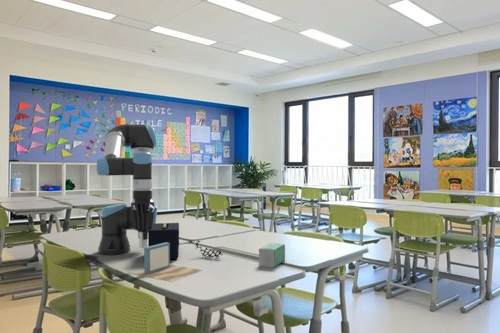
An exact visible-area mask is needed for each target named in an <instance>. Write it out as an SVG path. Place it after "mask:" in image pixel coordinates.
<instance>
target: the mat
mask: <svg viewBox="0 0 500 333" xmlns="http://www.w3.org/2000/svg"><path fill="white" fill-rule="evenodd" d="M202 271H204V270H203V269H199V268H193V267H187V266H182V265H181V266H180V265H175V264H174V265H173V264H170V267H169V268H166V269H163V270H159V271H156V272H153V273H150V274H145V273H144V270H142V271H140V272H136V273H133V275H134V276H140V277H145V278H150V279H155V280H161V281H166V282H171V283H174V282H176V281H179V280H181V279H183V278H186V277H188V276H191V275H192V276H193V275H195V274H197V273H201V272H202Z"/></svg>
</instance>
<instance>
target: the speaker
mask: <svg viewBox="0 0 500 333" xmlns="http://www.w3.org/2000/svg"><path fill="white" fill-rule="evenodd" d="M147 242H148V243H147V247H149V246H153V245H157V244H161V243H165V242H167V243H170V260H172V261H173V260H176V259H178V258H179V252H180V222H162V223H161V222H160V223H158V222H156V223H155V224H152V229H151V230H149V231H148V239H147Z"/></svg>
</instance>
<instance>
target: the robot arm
mask: <svg viewBox="0 0 500 333" xmlns="http://www.w3.org/2000/svg"><path fill="white" fill-rule="evenodd" d="M156 137H157V136H156V131H155V127H154V126H153V125H151V124H145V123H144V124H128V123H125V124H124V123H123V124H119V125H115V126H114V127H112V128H110V129H109V130H108V131H107V132H106V134H105V137H104V144H105V147H104V153H103V157H98V158H97V159H96V173H97V175H98V176H106V177H109V176H132V189H133V191H132V199H133V200H132V201H131V202H130V206H128V205H127V204H126V203H118V204H113V205H108V206H105V207H103V208H102V209H101V217H100V218H101V239H100V241H99V244H98V245H99V246H98V249H97V253H98V254H99V255H107V256H108V255H110V256H112V255H121V254H125V253H126V254H127V253H129V252H131V245H130V241H129V238H128V236H127V231H128V230H129V231H132V230H134V231H137V232H138V234H137V235H138V236H137V237H138V240H139V241H138V242H139V243H138V244H139V245H138V248H140V249H144V248H145V247H148V243H147V242H148V231H149V230H151V229H152V224H155V223H157V215H158V205H156V204H155V201H154V200H153V190H152V189H153V173H152V172H153V171H152V170H153V163H152V162H153V157H152V153H153V151H154V150H155V149H154V148H156V147H157V138H156ZM124 147H126V148H128V147H129V148H130V151H131V152H132V157H122V155H123V148H124Z"/></svg>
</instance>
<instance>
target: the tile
mask: <svg viewBox="0 0 500 333" xmlns="http://www.w3.org/2000/svg"><path fill="white" fill-rule="evenodd" d="M143 249H144V250H143V251H144V254H143V256H144V257H143V258H144V262H143V264H144V266H143V267H144V269H143V271H144V273H145V274H150V273H153V272H156V271H159V270H163V269H166V268H169V267H170V265H171V264H170V263H171V261H170V260H171V259H170V243H167V242H165V243H161V244H157V245H153V246H149V247H148V246H147V247H145V248H143Z"/></svg>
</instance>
